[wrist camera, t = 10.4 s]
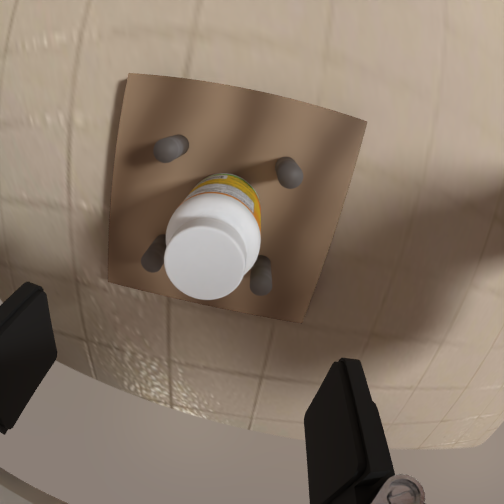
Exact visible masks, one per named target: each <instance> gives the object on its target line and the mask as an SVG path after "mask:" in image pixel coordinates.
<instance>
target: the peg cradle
mask: <svg viewBox="0 0 504 504" xmlns="http://www.w3.org/2000/svg"><path fill="white" fill-rule="evenodd" d="M366 125H367V121H364V120H361V119H358V118H355V117H352V116H349V115H346V114H343V113H340V112H336V111H333V110H330V109H326V108H323V107H320V106H316V105H312V104H309V103H305V102H302V101H298V100H294V99H290V98H286V97H282V96H278V95H273V94H269V93H265V92H260V91H255V90H251V89H246V88H241V87H235V86H230V85H224V84H219V83H212V82H206V81H199V80H192V79H185V78H177V77H168V76H158V75H147V74H134V73H129V74H128V78H127V83H126V88H125V94H124V99H123V105H122V110H121V116H120V123H119V129H118V136H117V144H116V151H115V160H114V169H113V179H112V190H111V203H110V219H109V244H108V282H111V283H115V284H118V285H122V286H126V287H130V288H134V289H138V290H142V291H146V292H151V293H155V294H159V295H163V296H167V297H172V298H176V299H181V300H185V301H189V302H194V303H199V304H203V305H208V306H213V307H217V308H222V309H227V310H232V311H237V312H242V313H247V314H252V315H257V316H263V317H268V318H274V319H279V320H285V321H290V322H296V323H302V322H303V319H304V317H305V314H306V312H307V309H308V306H309V304H310V301H311V298H312V295H313V293H314V290H315V287H316V285H317V282H318V279H319V276H320V273H321V271H322V268H323V265H324V262H325V259H326V256H327V253H328V250H329V247H330V245H331V242H332V239H333V236H334V233H335V229H336V226H337V223H338V220H339V217H340V214H341V211H342V208H343V205H344V201H345V198H346V195H347V192H348V188H349V185H350V182H351V178H352V175H353V172H354V168H355V165H356V161H357V158H358V154H359V151H360V147H361V144H362V140H363V136H364V133H365V129H366ZM220 173H227V174H233V175H236V176H239V177H241V178H243V179H244V180H246V181H247V182H248V183H249V184H250V185H251V186H252V187H253V188H254V190H255V191H256V193H257V195H258V197H259V201H260V207H261V243H260V250H259V254H258V257H257V259H256V261H255V263H254V265H253V266H252V268H251V269H250V270H249V271H248V272H247V273H246V274H245V275H244V276H243V279H242V280H241V282H240V284H239V285H238V286H237V288H236V289H235V290H234V291H232V292H231V293H230V294H228V295H226V296H224V297H222V298H218V299H214V300H201V299H196V298H193V297H190V296H188V295H186V294H184V293H183V292H181V291H180V290H179V289H177V288H176V287H175V286H174V285H173V283H172V282H171V281H170V279H169V277H168V275H167V273H166V270H165V266H164V254H165V250H166V230H167V226H168V223H169V221H170V219H171V217H172V215H173V214H174V212H175V211H176V209H177V208H178V206H179V205H180V204H181V203H182V202H183V201H184V199H185V198H186V197H187V196H188V195H189V193H190V192H191V191H192V190H193V189H194V187H195V186H196V185H197V184H198V183H199V182H201V181H202V180H203V179H205V178H207V177H209V176H211V175H214V174H220Z"/></svg>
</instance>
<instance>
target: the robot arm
mask: <svg viewBox="0 0 504 504" xmlns="http://www.w3.org/2000/svg"><path fill="white" fill-rule="evenodd" d="M56 357H57V349H56V344H55V340H54V335H53V330H52V325H51V319H50V314H49V308H48V301H47V295H46V293H45V292H44V291H43V288H42V287H41V286H38V285H36V284H33V283H30V282H26V283H24V284H23V285H22V286H21V287H20V288H19V289H18V290H16V291H15V292H14V293H13V294H12V295H11V296H10V297H9V298H8V299H7V300H6V301H5V302H4V303H3V304H2V305H1V306H0V432H1V433H3V434H5V433H6V432H7V430H8V429H11V428H13V426H14V425H15V423H16V421H17V420H18V418H19V416H20V415H21V413H22V411H23V410H24V408H25V406H26V405H27V403H28V402H29V400H30V398H31V397H32V395H33V394H34V392H35V390H36V389H37V387H38V386H39V384H40V383H41V381H42V380H43V378H44V377H45V375H46V373H47V372H48V371H49V369H50V368H51V366H52V364H53V363H54V361H55V360H56ZM304 427H305V440H306V451H307V452H306V453H307V466H308V481H309V497H310V504H425V503H424V501H425V492H424V490H423V487H422V485H421V484H420V483H419V481H417V480H416V479H415V478H413V477H411V476H409V475H403V474H399V475H395V473H394V469H393V465H392V461H391V457H390V453H389V449H388V445H387V441H386V437H385V434H384V430H383V426H382V423H381V419H380V416H379V412H378V409H377V406H376V404H375V403H374V402H373V401H372V398H371V395H370V391H369V388H368V385H367V381H366V378H365V375H364V371H363V368H362V365H361V362H360V361H359V360H356V359H348V358H341V359H340V360H339V361H338V362H334V363H333V364H332V366H331V368H330V370H329V372H328V374H327V376H326V377H325V379H324V381H323V383H322V385H321V386H320V388H319V390H318V392H317V394H316V395H315V397H314V399H313V401H312V402H311V404H310V406H309V408H308V409H307V411H306V413H305V417H304ZM0 504H68V503H66V502H64V501H62V500H59V499H57V498H55V497H53V496H51V495H49V494H47V493H45V492H43V491H41V490H39V489H37V488H35V487H33V486H31V485H29V484H28V483H26V482H24V481H22V480H20V479H18V478H17V477H15V476H13V475H12V474H10V473H8V472H7V471H5V470H4V469H2V468H0Z"/></svg>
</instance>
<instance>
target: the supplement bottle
mask: <svg viewBox="0 0 504 504" xmlns="http://www.w3.org/2000/svg"><path fill="white" fill-rule="evenodd" d="M260 243H261V207H260V201H259V197H258V195H257V193H256V191H255V190H254V188H253V187H252V186H251V185H250V184H249V183H248V182H247V181H246V180H244V179H243V178H241V177H239V176H236V175H233V174H227V173H220V174H214V175H211V176H209V177H207V178H205V179H203V180H202V181H201V182H199V183H198V184H197V185H196V186H195V187H194V189H193V190H192V191H191V192H190V193H189V195H188V196H187V197H186V198H185V199H184V201H183V202H182V203H181V204H180V205H179V206H178V208H177V209H176V211H175V212H174V214H173V215H172V217H171V219H170V221H169V223H168V226H167V230H166V250H165V254H164V266H165V270H166V273H167V275H168V277H169V279H170V281H171V282H172V283H173V285H174V286H175V287H176V288H177V289H179V290H180V291H181V292H183V293H184V294H186V295H188V296H190V297H193V298H196V299H201V300H214V299H218V298H222V297H224V296H226V295H228V294H230V293H231V292H232V291H234V290H235V289H236V288H237V286H238V285H239V284H240V282H241V280H242V279H243V276H244V275H245V274H246V273H247V272H248V271H249V270H250V269H251V268H252V266H253V265H254V263H255V261H256V259H257V257H258V254H259V250H260Z"/></svg>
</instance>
